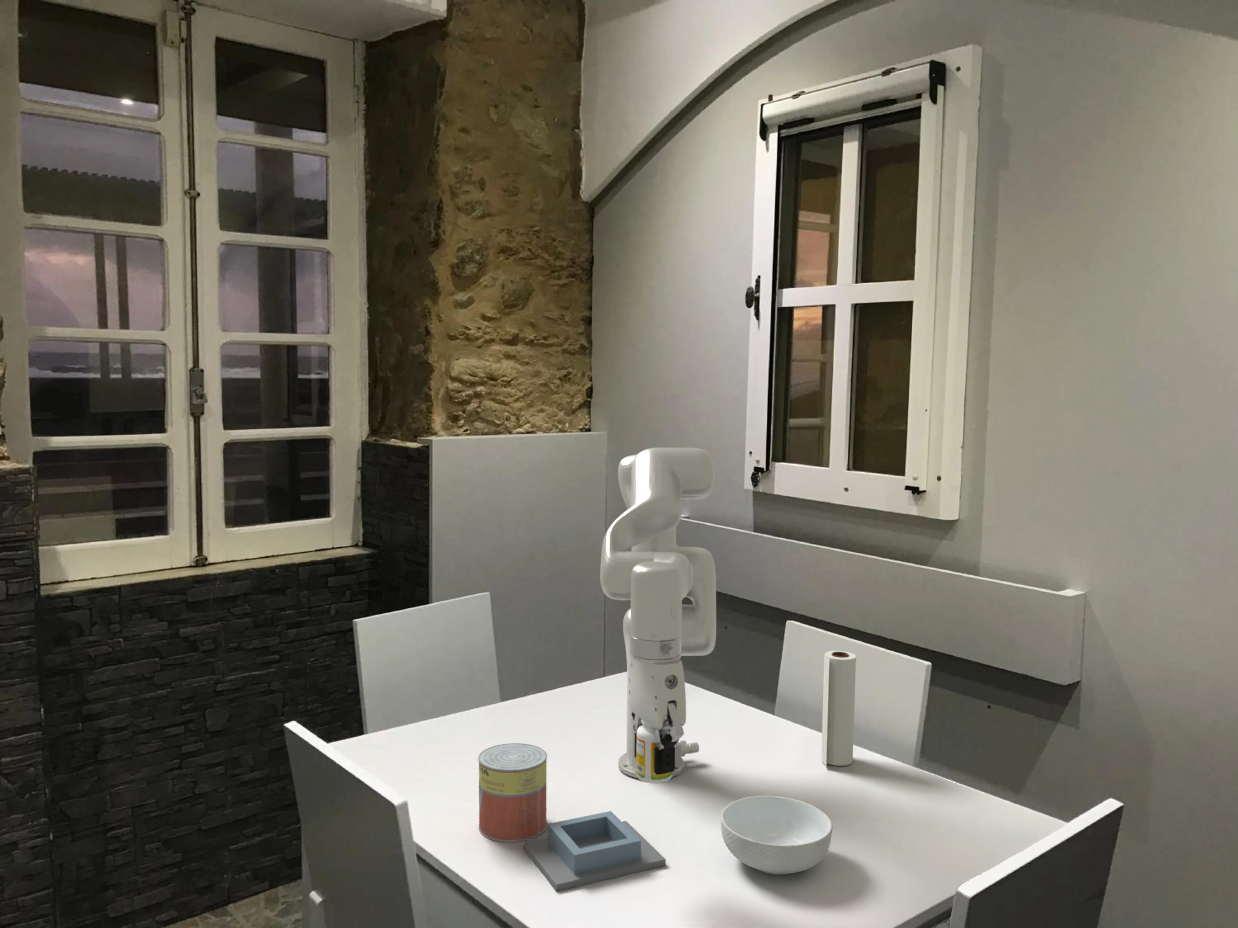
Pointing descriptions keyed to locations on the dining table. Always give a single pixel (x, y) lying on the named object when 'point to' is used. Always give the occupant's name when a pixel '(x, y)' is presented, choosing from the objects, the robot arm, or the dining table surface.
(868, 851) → the dining table surface
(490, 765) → the canned food
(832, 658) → the paper towel roll
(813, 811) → the cereal bowl
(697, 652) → the robot arm
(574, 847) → the caddy
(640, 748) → the supplement bottle
